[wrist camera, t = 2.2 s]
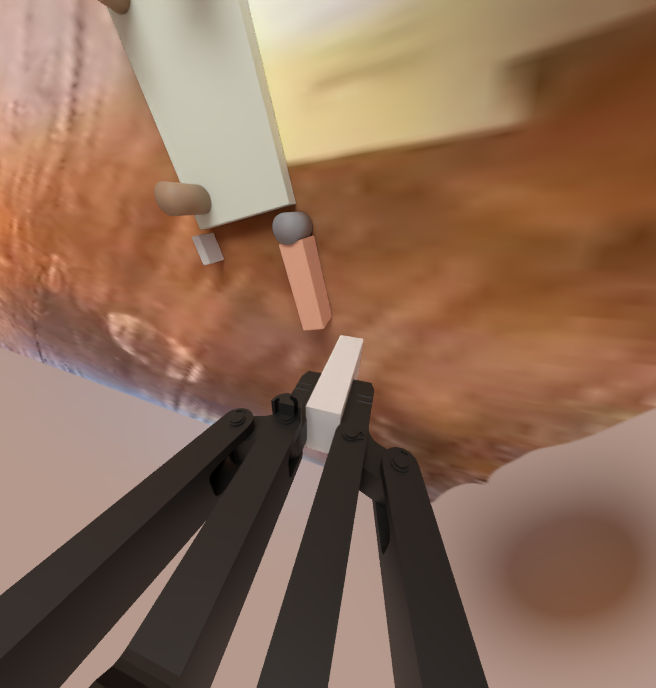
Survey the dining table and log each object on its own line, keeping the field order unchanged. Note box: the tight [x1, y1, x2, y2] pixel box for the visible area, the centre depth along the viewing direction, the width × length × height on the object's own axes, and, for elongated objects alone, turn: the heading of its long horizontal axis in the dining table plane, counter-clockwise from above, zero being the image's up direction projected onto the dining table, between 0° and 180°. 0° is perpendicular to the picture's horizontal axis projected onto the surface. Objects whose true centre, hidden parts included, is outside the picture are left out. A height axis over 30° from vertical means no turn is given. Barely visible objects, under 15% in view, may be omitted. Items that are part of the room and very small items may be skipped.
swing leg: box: [272, 212, 332, 330], centre depth 24 cm, size 11×3×4 cm, turn 12°
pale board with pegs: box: [98, 0, 296, 265], centre depth 20 cm, size 22×12×6 cm, turn 12°
